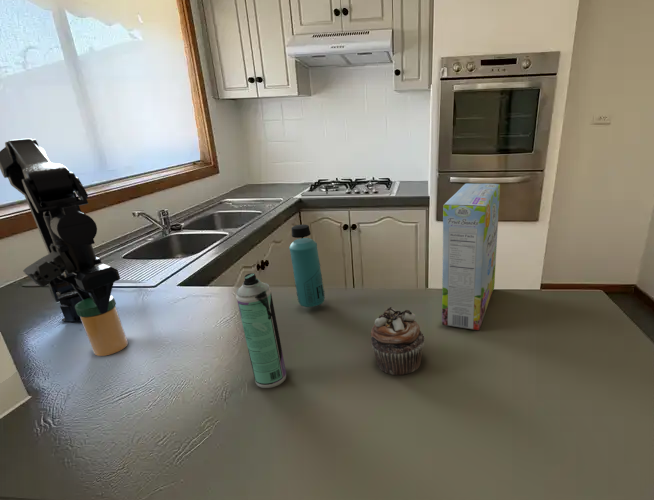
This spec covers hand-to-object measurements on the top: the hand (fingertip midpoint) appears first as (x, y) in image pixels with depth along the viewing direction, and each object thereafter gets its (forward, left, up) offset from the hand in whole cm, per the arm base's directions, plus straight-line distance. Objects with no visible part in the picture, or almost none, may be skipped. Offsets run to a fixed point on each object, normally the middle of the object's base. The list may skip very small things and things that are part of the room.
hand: (97, 308), depth 86 cm
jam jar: (0, 0, -9) cm, 9 cm away
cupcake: (0, +62, -9) cm, 63 cm away
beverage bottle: (-21, +38, -9) cm, 44 cm away
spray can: (+7, +40, -9) cm, 42 cm away
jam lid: (0, 0, +1) cm, 1 cm away
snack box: (-23, +75, -10) cm, 79 cm away
